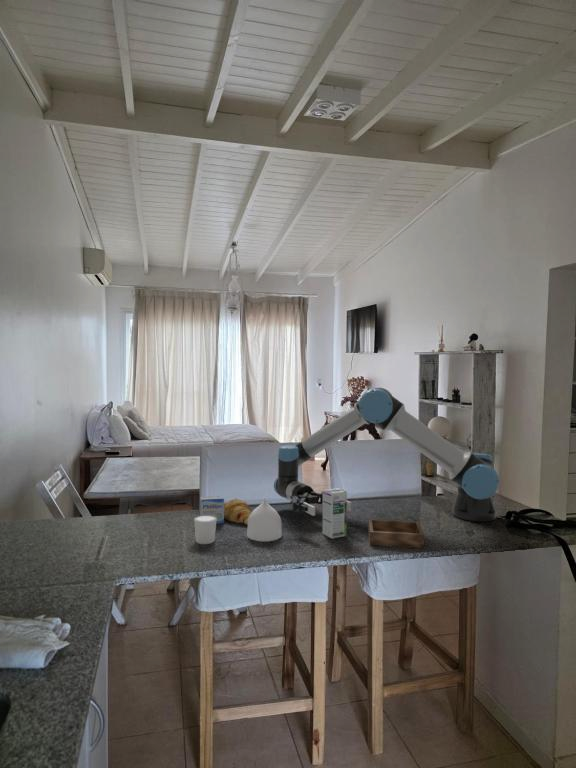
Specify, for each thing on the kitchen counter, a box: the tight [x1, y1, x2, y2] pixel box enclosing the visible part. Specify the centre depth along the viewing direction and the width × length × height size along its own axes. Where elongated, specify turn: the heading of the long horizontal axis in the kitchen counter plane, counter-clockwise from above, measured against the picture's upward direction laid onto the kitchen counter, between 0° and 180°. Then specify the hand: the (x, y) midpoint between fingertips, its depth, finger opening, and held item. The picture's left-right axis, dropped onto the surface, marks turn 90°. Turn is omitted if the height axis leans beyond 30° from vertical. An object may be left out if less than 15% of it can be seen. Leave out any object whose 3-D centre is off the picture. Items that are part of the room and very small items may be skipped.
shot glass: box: [193, 515, 217, 545], centre depth 154 cm, size 7×7×7 cm
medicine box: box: [199, 495, 225, 525], centre depth 172 cm, size 8×4×9 cm, turn 104°
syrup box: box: [322, 487, 348, 540], centre depth 161 cm, size 6×6×14 cm
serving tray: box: [367, 518, 425, 549], centre depth 157 cm, size 16×13×4 cm
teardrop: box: [246, 498, 283, 542], centre depth 160 cm, size 11×11×12 cm
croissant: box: [224, 498, 253, 525], centre depth 177 cm, size 21×10×8 cm, turn 35°
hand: (332, 509), depth 161 cm, fingers open, 13 cm apart
